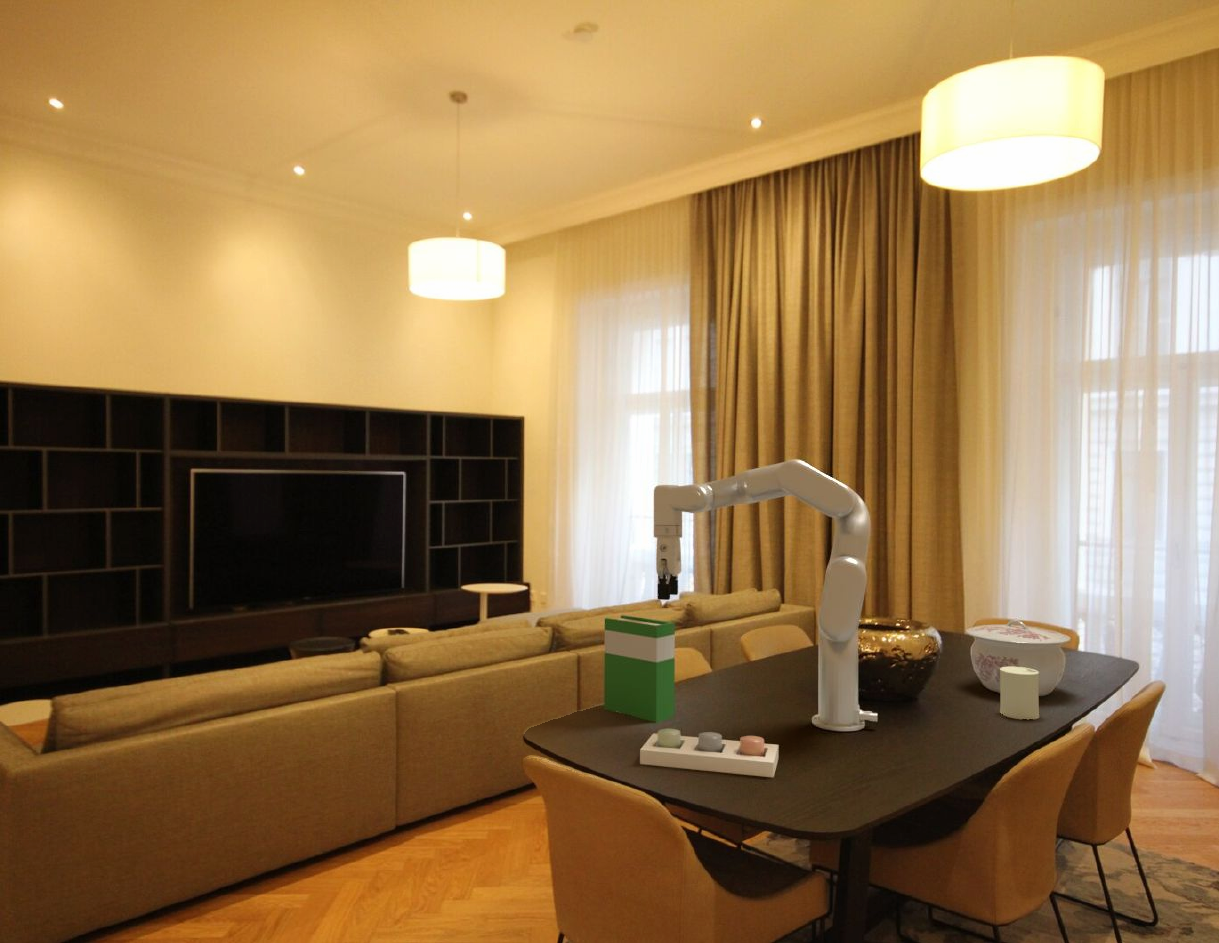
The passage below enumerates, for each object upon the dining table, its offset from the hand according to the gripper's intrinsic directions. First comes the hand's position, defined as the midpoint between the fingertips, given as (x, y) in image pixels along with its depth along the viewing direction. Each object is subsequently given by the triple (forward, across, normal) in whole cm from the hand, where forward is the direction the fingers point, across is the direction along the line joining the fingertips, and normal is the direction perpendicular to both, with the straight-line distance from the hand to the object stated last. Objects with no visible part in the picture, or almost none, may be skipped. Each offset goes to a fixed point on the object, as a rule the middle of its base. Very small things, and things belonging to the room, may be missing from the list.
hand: (667, 596), depth 217 cm
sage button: (+28, -35, -8) cm, 46 cm away
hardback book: (+30, -3, +7) cm, 31 cm away
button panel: (+30, -35, -17) cm, 49 cm away
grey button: (+28, -35, -17) cm, 48 cm away
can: (+30, +24, -88) cm, 96 cm away
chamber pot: (+30, +50, -92) cm, 109 cm away
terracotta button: (+28, -35, -26) cm, 52 cm away
